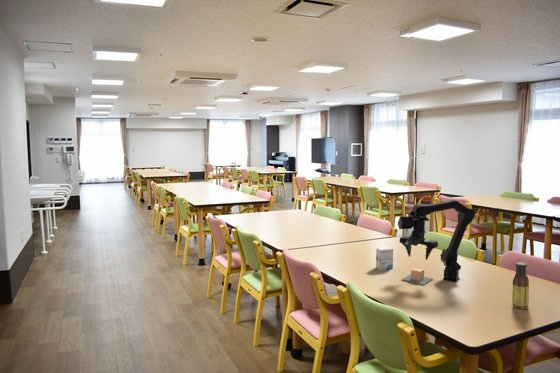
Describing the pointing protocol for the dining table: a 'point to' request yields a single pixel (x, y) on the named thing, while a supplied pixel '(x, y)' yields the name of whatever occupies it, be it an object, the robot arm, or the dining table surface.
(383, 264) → the ink box
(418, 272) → the terracotta cube
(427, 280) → the charcoal mat
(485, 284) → the dining table surface
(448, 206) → the robot arm
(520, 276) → the sauce bottle
